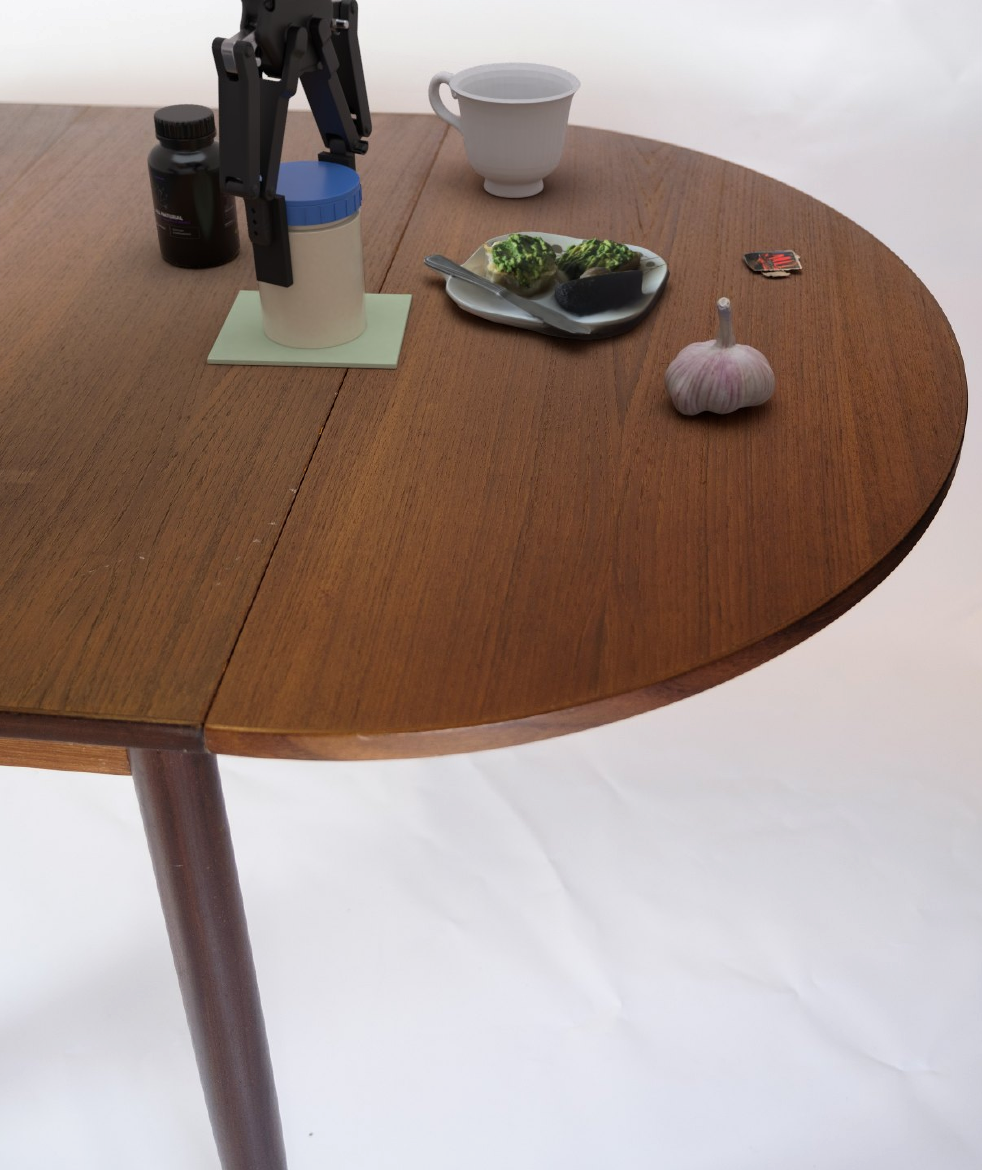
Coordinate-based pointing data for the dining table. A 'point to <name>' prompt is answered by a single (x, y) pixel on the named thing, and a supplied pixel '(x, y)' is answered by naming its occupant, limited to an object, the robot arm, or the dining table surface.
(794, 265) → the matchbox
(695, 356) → the garlic bulb
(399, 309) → the mat
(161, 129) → the supplement bottle
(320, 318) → the jar
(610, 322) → the salad plate
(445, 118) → the teacup
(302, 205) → the lid
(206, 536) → the dining table surface
